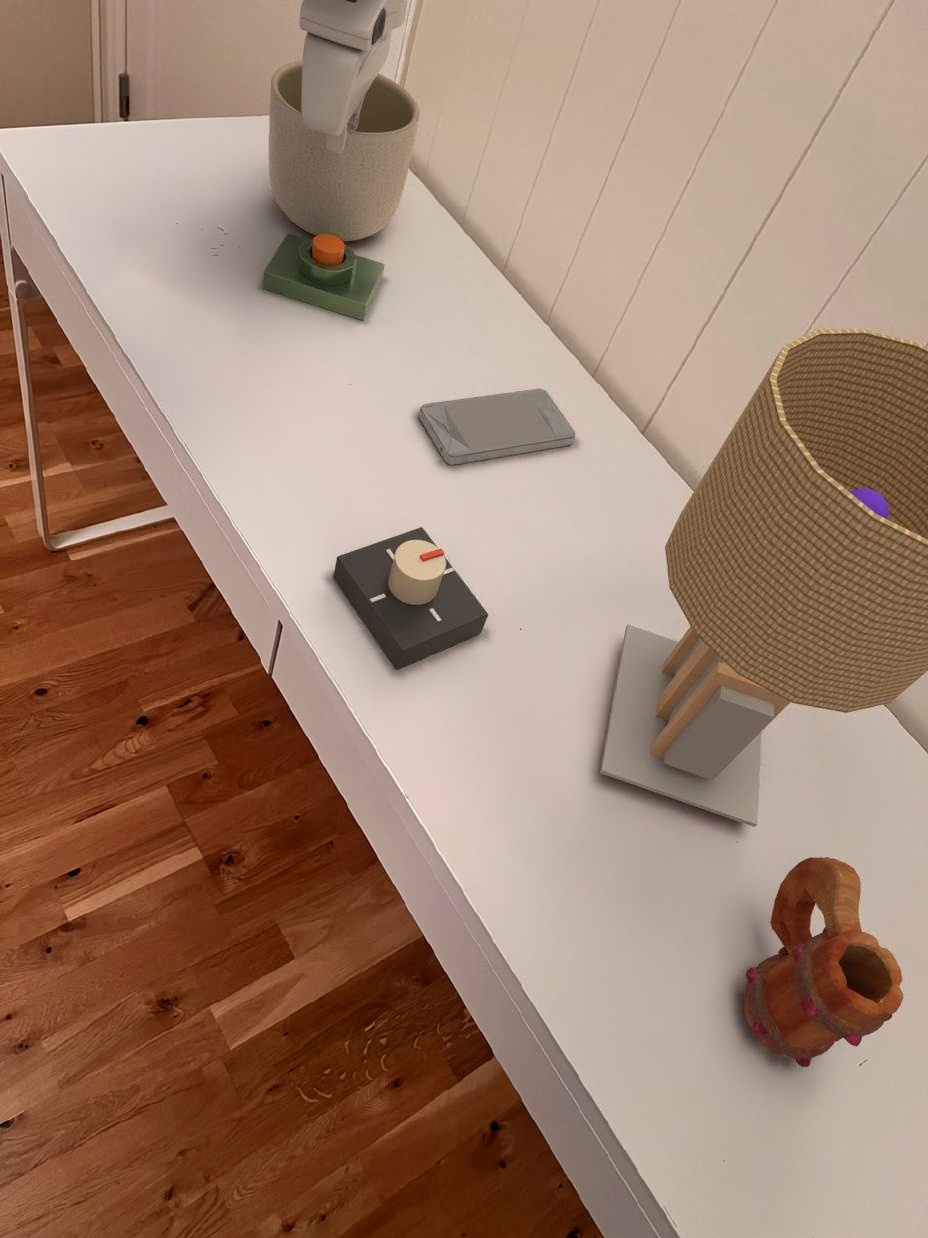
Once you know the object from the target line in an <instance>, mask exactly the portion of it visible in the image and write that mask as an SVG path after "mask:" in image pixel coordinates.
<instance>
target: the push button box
mask: <svg viewBox="0 0 928 1238" xmlns="http://www.w3.org/2000/svg"><path fill="white" fill-rule="evenodd" d="M314 238H315V237H311V238H309V239H308V238H304V237H301V236H299V235H296V234H292V233H289V232H287V233H286V235H285V236H284V238H283V240H282V242H281V243H280V244H279V247H278V248H277V250H276V251H275V252H274V255H273V256H272V258H271V259H270V261H269V262H268V265H267V266H266V268H265V270H264V271H263V275H262V290H265V291H267V292H271V293H275V294H277V295H281V296H284V297H287V298H291V299H293V300H297V301H299V302H303V303H305V304H309V305H312V306H315V307H318V308H321V309H325V310H329V311H331V312H334V313H338V314H341V315H343V316H348V317H350V318H353V319H356V320H361V321H365V319H366V316H367V314H368V312H369V310H370V307H371V305H372V302H373V301H374V298H375V296H376V294H377V291H378V290H379V287H380V285H381V282H382V280H383V276H384V271H385V263H382V262H379V261H376V260H373V259H370V258H367V257H364V256H361V255H358V254H355V251H354V250H353V249H352V248H351V247H349V246H348V245H346V244H345V243H344V245H345V249H344V256H343V261H342V263H341V264H338V265H326V264H323V263H320V262H317V261H316V260H315V259H313V257H312V245H313V239H314Z"/></svg>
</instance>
